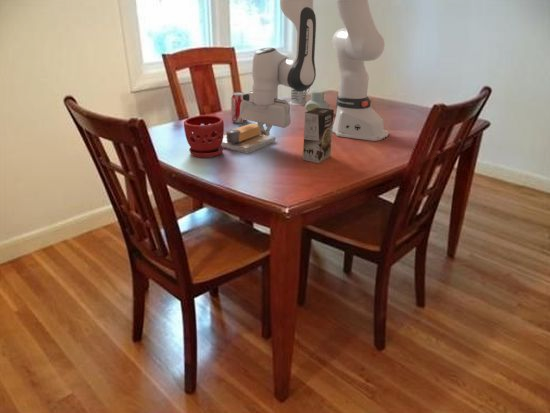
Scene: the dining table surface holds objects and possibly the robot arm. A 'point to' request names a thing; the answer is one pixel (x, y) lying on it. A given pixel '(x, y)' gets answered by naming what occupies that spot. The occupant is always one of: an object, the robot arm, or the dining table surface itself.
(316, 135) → the coffee box
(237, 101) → the soda can
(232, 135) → the swing bar
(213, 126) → the plant pot
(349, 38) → the robot arm
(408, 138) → the dining table surface
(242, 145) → the panel
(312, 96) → the air freshener
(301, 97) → the french press
